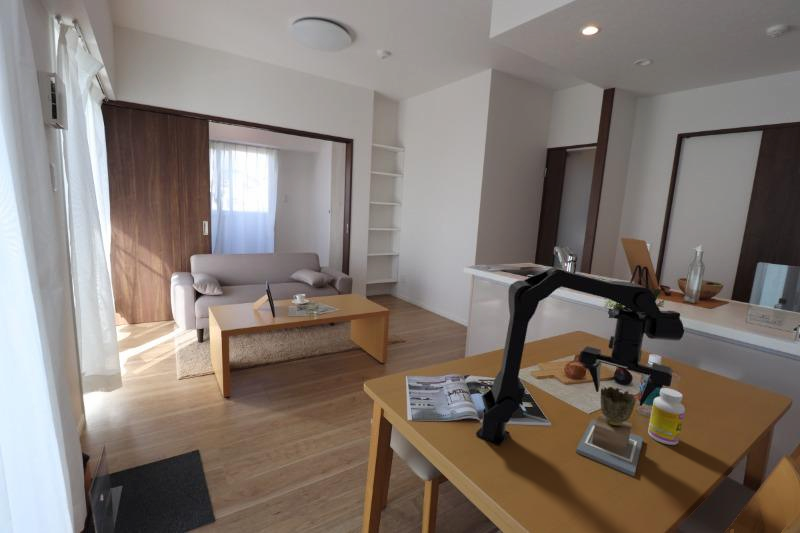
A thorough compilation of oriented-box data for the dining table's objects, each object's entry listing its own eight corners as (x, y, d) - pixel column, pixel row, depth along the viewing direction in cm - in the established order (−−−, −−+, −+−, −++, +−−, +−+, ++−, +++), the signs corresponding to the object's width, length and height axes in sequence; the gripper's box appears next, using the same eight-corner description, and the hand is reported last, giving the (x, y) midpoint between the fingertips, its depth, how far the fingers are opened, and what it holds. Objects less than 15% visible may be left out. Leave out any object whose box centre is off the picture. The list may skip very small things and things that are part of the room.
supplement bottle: (677, 449, 93) (686, 402, 90) (645, 437, 97) (654, 392, 95) (679, 438, 98) (688, 392, 96) (649, 427, 102) (657, 383, 100)
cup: (591, 422, 91) (596, 392, 90) (601, 412, 97) (606, 383, 95) (625, 437, 86) (631, 405, 85) (634, 425, 91) (639, 395, 90)
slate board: (634, 476, 82) (635, 471, 82) (576, 452, 89) (576, 447, 89) (642, 441, 95) (643, 436, 95) (591, 422, 103) (591, 418, 102)
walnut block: (624, 456, 87) (628, 436, 87) (592, 443, 92) (594, 424, 91) (628, 442, 93) (631, 423, 92) (597, 430, 97) (600, 413, 96)
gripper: (678, 338, 88) (667, 399, 91) (592, 320, 100) (584, 374, 102) (676, 351, 80) (664, 418, 82) (582, 329, 91) (574, 389, 93)
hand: (618, 398), depth 90 cm, fingers open, 9 cm apart
